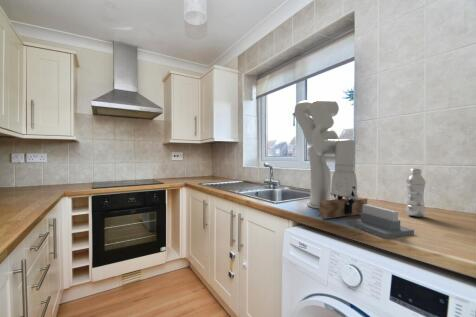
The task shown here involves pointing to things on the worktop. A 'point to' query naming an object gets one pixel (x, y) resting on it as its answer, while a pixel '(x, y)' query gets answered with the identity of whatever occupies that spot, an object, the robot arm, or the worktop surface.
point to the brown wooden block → (340, 207)
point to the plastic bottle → (415, 194)
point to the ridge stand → (381, 222)
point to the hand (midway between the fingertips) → (343, 211)
